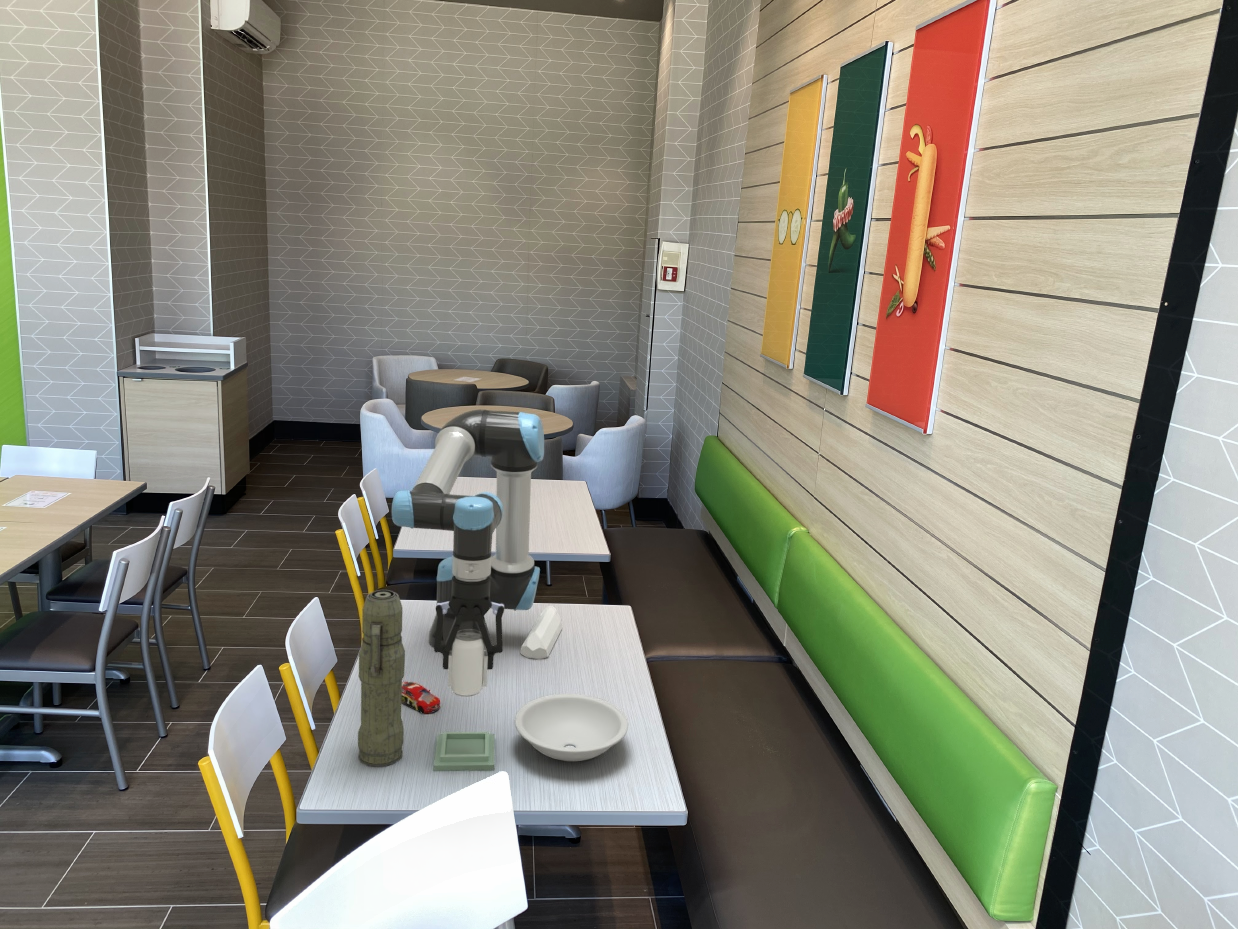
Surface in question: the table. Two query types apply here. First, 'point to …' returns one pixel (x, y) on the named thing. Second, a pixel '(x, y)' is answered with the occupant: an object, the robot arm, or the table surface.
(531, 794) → the table surface
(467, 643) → the can
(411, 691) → the race car
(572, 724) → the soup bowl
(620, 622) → the table surface
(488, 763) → the baseplate
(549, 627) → the crystal
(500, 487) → the robot arm
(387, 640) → the thermos
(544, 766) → the table surface
